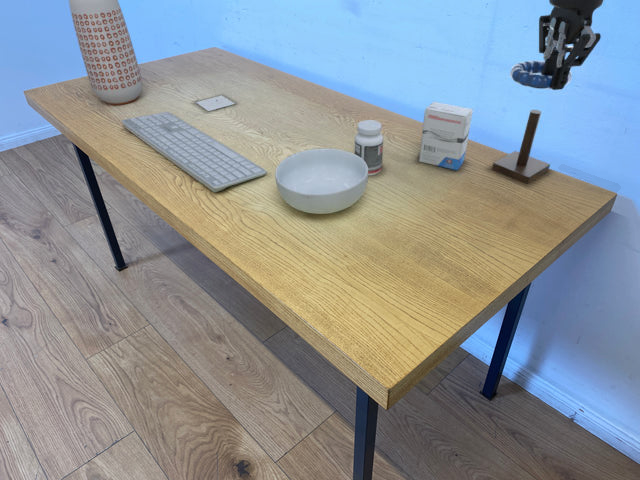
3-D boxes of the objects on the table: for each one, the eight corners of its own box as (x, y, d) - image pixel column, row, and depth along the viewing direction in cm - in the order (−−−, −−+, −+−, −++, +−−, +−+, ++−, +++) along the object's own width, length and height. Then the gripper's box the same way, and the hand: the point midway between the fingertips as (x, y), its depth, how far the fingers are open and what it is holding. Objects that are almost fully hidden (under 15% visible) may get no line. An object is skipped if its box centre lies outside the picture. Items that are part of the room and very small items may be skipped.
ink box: (464, 161, 100) (474, 107, 93) (457, 171, 97) (467, 116, 90) (426, 152, 104) (433, 100, 96) (418, 161, 100) (424, 108, 93)
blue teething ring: (580, 80, 84) (584, 68, 82) (550, 95, 78) (554, 82, 77) (528, 67, 90) (531, 55, 88) (497, 80, 84) (500, 68, 83)
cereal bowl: (312, 171, 98) (311, 139, 94) (383, 194, 90) (385, 161, 86) (259, 209, 87) (255, 175, 83) (333, 239, 79) (333, 204, 75)
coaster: (195, 102, 129) (195, 99, 129) (221, 95, 133) (221, 92, 133) (208, 111, 124) (207, 108, 124) (235, 103, 128) (234, 101, 127)
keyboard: (268, 175, 97) (267, 165, 96) (216, 197, 91) (214, 187, 89) (168, 114, 124) (166, 105, 122) (122, 128, 117) (119, 119, 116)
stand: (548, 170, 96) (566, 112, 89) (527, 184, 92) (544, 124, 85) (513, 156, 101) (527, 100, 94) (491, 169, 97) (505, 111, 90)
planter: (156, 94, 135) (129, -16, 118) (122, 111, 126) (88, -6, 108) (120, 88, 140) (90, -19, 122) (85, 104, 130) (47, -10, 113)
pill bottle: (385, 166, 99) (388, 121, 93) (376, 178, 95) (379, 133, 89) (359, 161, 101) (361, 117, 95) (349, 173, 97) (350, 128, 91)
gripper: (639, -23, 65) (596, 99, 76) (579, -38, 76) (549, 70, 87) (589, -20, 64) (553, 103, 75) (536, -36, 75) (511, 73, 86)
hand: (551, 85), depth 81 cm, fingers closed on blue teething ring, 2 cm apart
